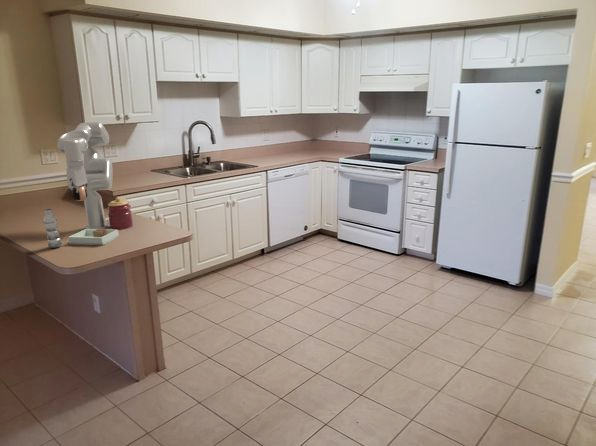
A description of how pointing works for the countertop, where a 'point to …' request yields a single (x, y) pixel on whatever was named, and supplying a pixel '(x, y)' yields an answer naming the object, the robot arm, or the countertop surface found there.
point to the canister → (119, 214)
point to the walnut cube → (100, 232)
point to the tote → (92, 237)
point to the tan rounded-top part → (81, 193)
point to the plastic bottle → (51, 229)
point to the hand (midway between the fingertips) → (80, 198)
